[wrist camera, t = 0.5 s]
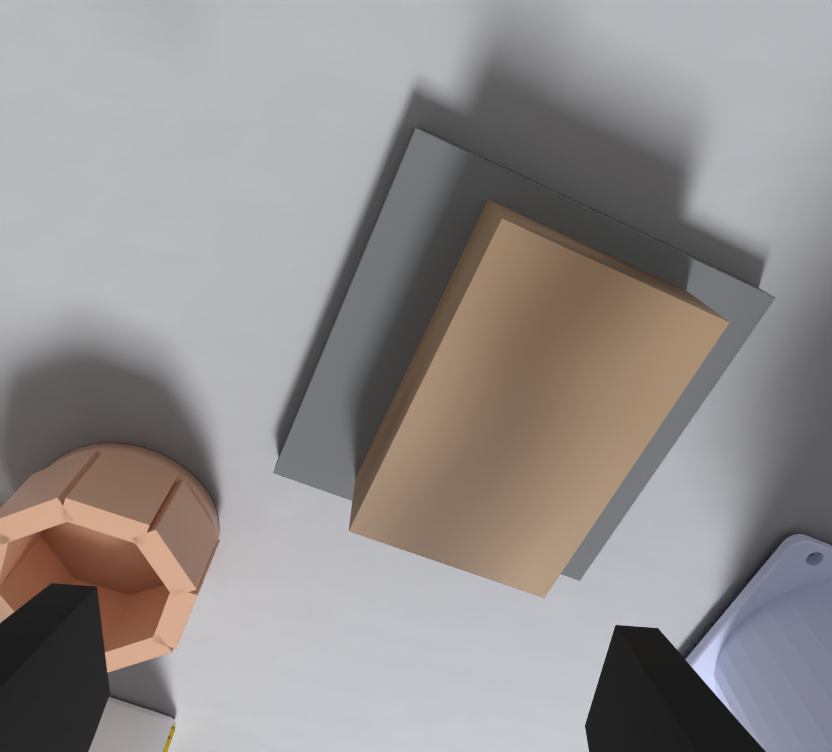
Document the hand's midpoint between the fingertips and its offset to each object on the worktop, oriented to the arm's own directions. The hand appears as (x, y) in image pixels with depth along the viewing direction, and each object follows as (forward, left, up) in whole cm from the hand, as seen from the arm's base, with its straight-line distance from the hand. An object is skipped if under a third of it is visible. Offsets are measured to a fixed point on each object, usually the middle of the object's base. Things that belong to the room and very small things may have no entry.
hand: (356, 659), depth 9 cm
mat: (-3, -1, -10) cm, 10 cm away
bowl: (+5, +8, -10) cm, 13 cm away
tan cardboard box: (-3, -1, -9) cm, 10 cm away
